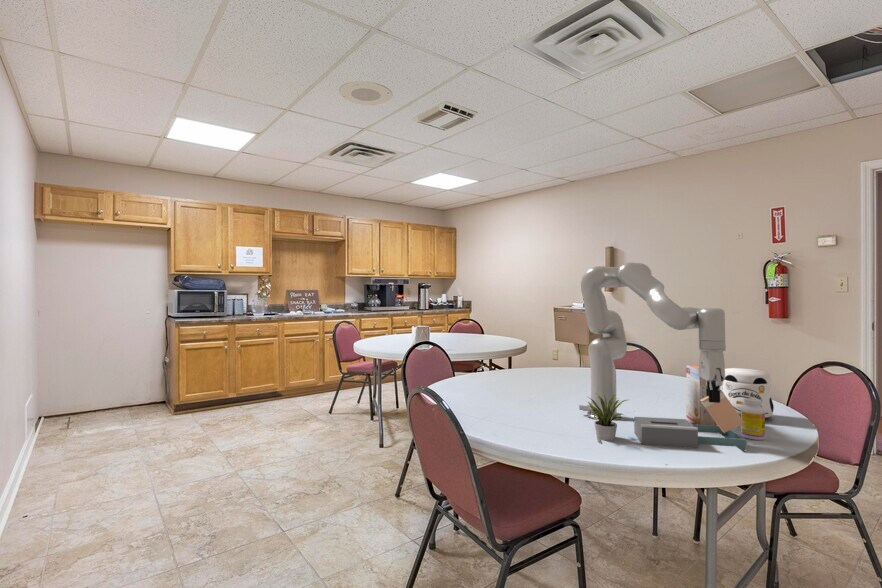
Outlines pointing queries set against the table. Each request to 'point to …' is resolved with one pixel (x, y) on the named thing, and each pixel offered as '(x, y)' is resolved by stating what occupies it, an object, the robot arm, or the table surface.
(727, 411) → the peach slab cream top
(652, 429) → the dispenser
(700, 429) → the tray
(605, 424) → the house plant
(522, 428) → the table surface
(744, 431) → the supplement bottle
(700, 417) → the cracker box
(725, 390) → the milk container
